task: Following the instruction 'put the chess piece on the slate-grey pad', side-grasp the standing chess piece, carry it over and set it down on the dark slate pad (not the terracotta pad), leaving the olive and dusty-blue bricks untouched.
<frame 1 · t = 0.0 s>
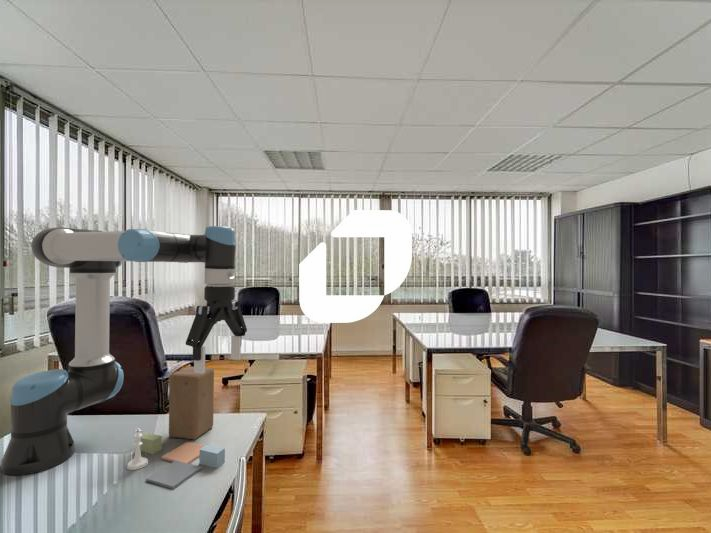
hand: (218, 365, 94), 28 cm above the table, tool pointing down, fingers open, 13 cm apart
pad slate: (174, 474, 92), on the table
brick blue: (212, 463, 98), on the table
chess piece: (137, 465, 97), on the table
pad terracotta: (186, 454, 102), on the table
brick olive: (149, 450, 104), on the table
wooden block: (191, 432, 116), on the table
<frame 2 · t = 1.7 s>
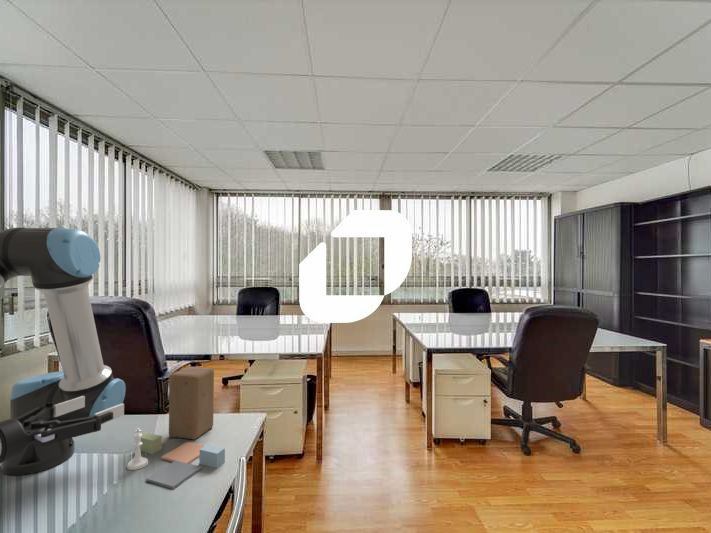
hand: (103, 405, 87), 20 cm above the table, tool horizontal, fingers open, 13 cm apart
nothing on the table moved.
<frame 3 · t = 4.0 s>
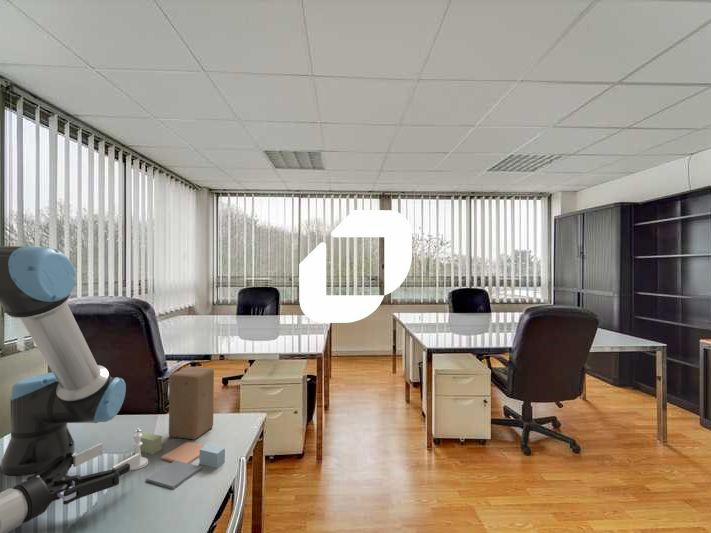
hand: (119, 453, 91), 6 cm above the table, tool horizontal, fingers open, 13 cm apart
nothing on the table moved.
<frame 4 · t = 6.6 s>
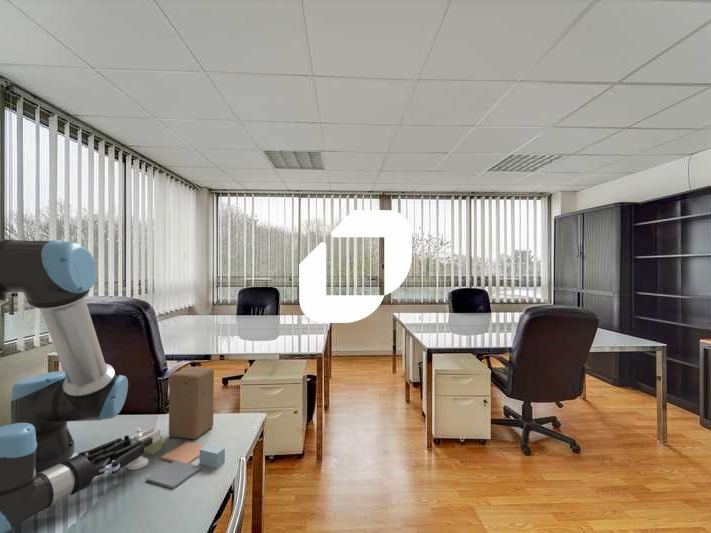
hand: (155, 433, 102), 6 cm above the table, tool horizontal, fingers closed on chess piece, 2 cm apart
chess piece: (137, 465, 97), on the table, touching gripper
everything else where it was.
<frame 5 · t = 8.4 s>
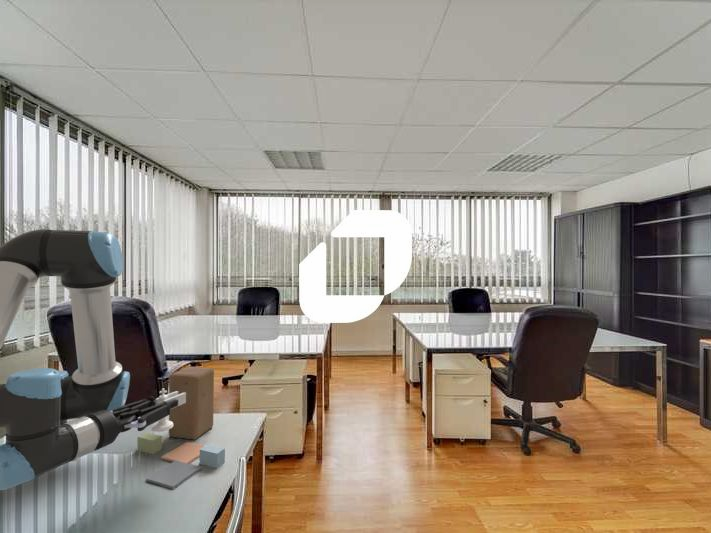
hand: (180, 396, 97), 18 cm above the table, tool horizontal, fingers closed on chess piece, 2 cm apart
chess piece: (162, 428, 92), point 12 cm above the table, touching gripper
everything else where it was.
when the fingers open (8 cm above the table, at t = 10.7 s): chess piece drops 1 cm, resting on pad slate.
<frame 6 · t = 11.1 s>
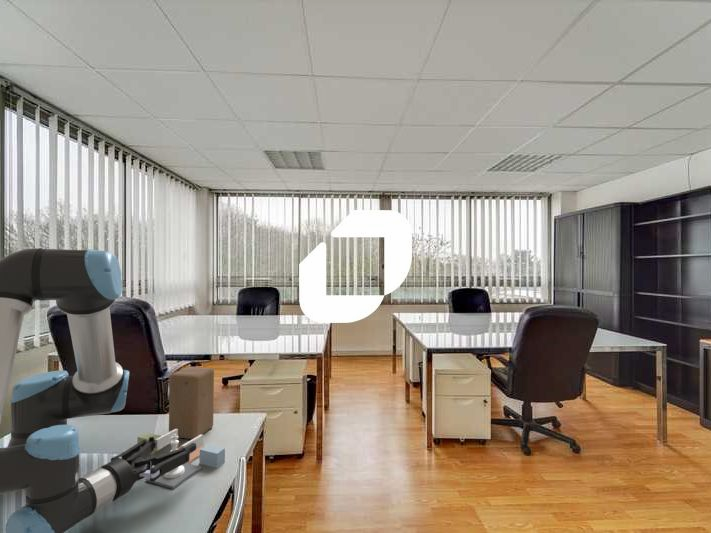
hand: (189, 436, 97), 8 cm above the table, tool horizontal, fingers open, 8 cm apart
chess piece: (174, 473, 92), resting on pad slate
everything else where it was.
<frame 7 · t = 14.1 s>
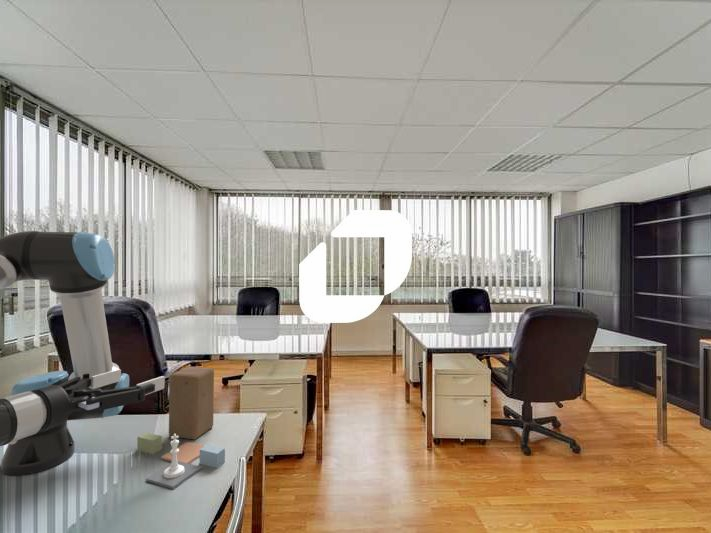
hand: (141, 378, 83), 28 cm above the table, tool horizontal, fingers open, 13 cm apart
nothing on the table moved.
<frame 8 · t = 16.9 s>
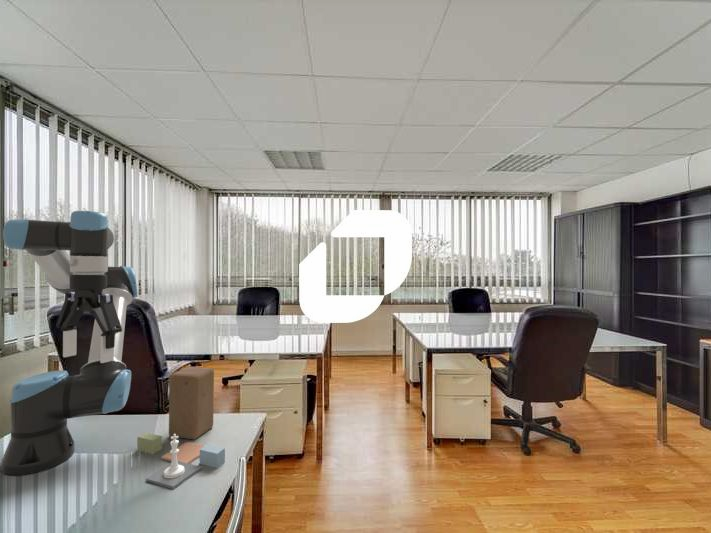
hand: (87, 358, 89), 31 cm above the table, tool pointing down, fingers open, 13 cm apart
nothing on the table moved.
at the end: chess piece inside the target area on the pad slate (0.1 cm from its centre), point 0.4 cm above the pad slate's base; chess piece tilted 0°; brick olive moved 0.2 cm from its start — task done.
